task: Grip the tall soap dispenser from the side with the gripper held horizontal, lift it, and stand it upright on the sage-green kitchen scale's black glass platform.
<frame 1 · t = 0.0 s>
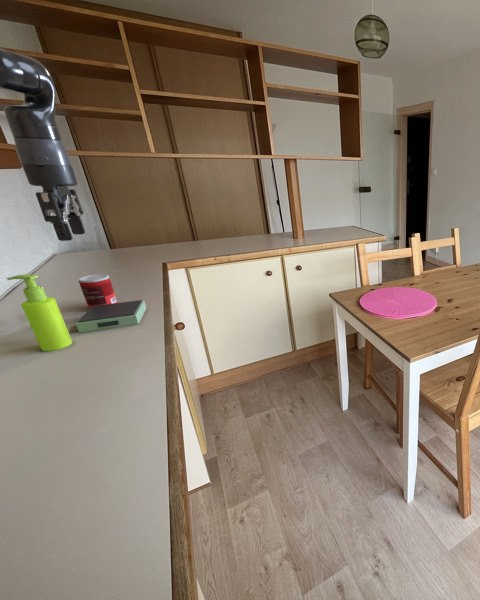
hand: (73, 237, 74), 30 cm above the counter, tool pointing down, fingers open, 8 cm apart
scale: (115, 319, 101), on the counter
soap dispenser: (55, 346, 85), on the counter
canned food: (104, 307, 110), on the counter
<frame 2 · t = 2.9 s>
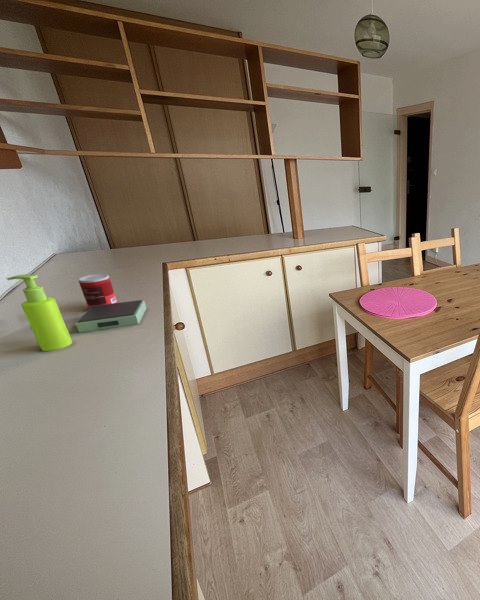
nothing on the counter moved.
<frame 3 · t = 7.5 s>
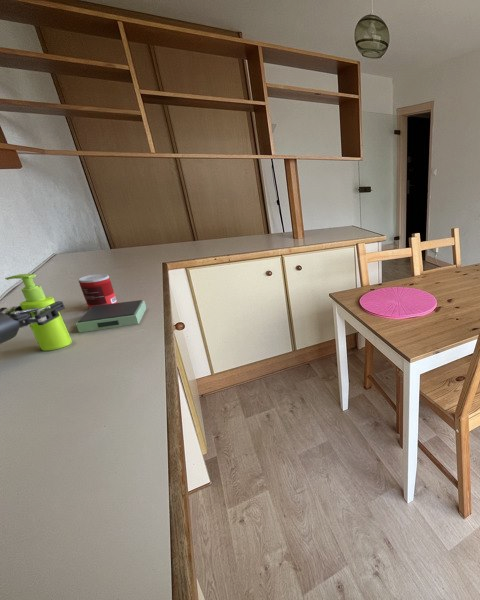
hand: (48, 304, 83), 11 cm above the counter, tool horizontal, fingers closed on soap dispenser, 6 cm apart
soap dispenser: (55, 346, 85), on the counter, touching gripper
everything else where it was.
when the fingers open (15 cm above the counter, at t = 14.1 s): soap dispenser stays where it is, resting on scale.
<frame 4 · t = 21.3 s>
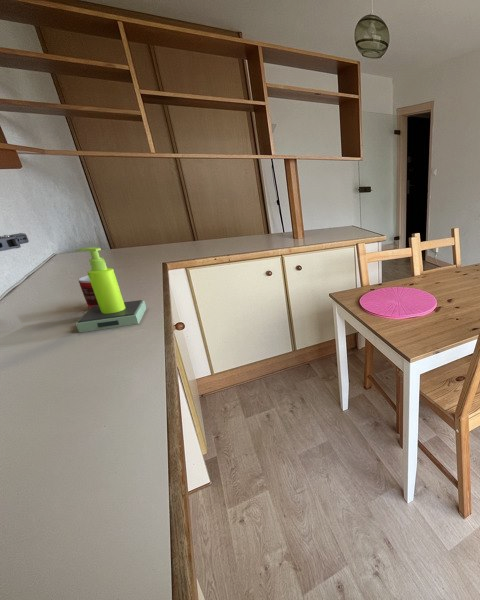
hand: (4, 237, 72), 30 cm above the counter, tool horizontal, fingers open, 8 cm apart
soap dispenser: (112, 310, 100), point 3 cm above the counter, touching scale
everything else where it was.
at the end: soap dispenser inside the target area on the scale (0.2 cm from its centre), point 3.2 cm above the scale's base; soap dispenser tilted 0°; the gripper is holding nothing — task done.
